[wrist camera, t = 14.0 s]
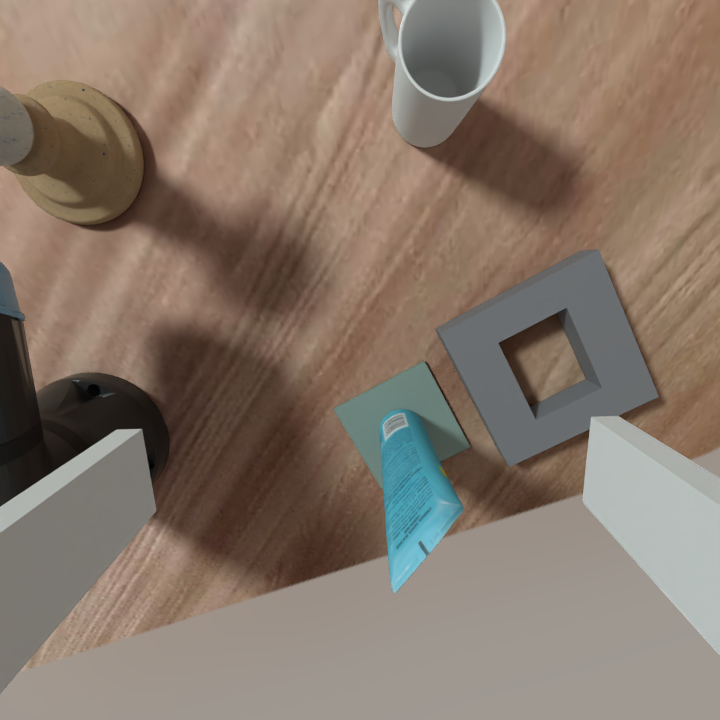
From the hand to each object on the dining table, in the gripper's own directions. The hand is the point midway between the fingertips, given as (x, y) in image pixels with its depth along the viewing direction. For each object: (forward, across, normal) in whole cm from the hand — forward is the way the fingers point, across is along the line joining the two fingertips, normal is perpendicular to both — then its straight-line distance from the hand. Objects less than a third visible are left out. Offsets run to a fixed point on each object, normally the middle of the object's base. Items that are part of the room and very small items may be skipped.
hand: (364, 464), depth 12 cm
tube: (+30, +4, -12) cm, 33 cm away
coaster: (+30, +3, -12) cm, 33 cm away
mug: (+31, +5, +20) cm, 37 cm away
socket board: (+30, +18, -5) cm, 36 cm away
